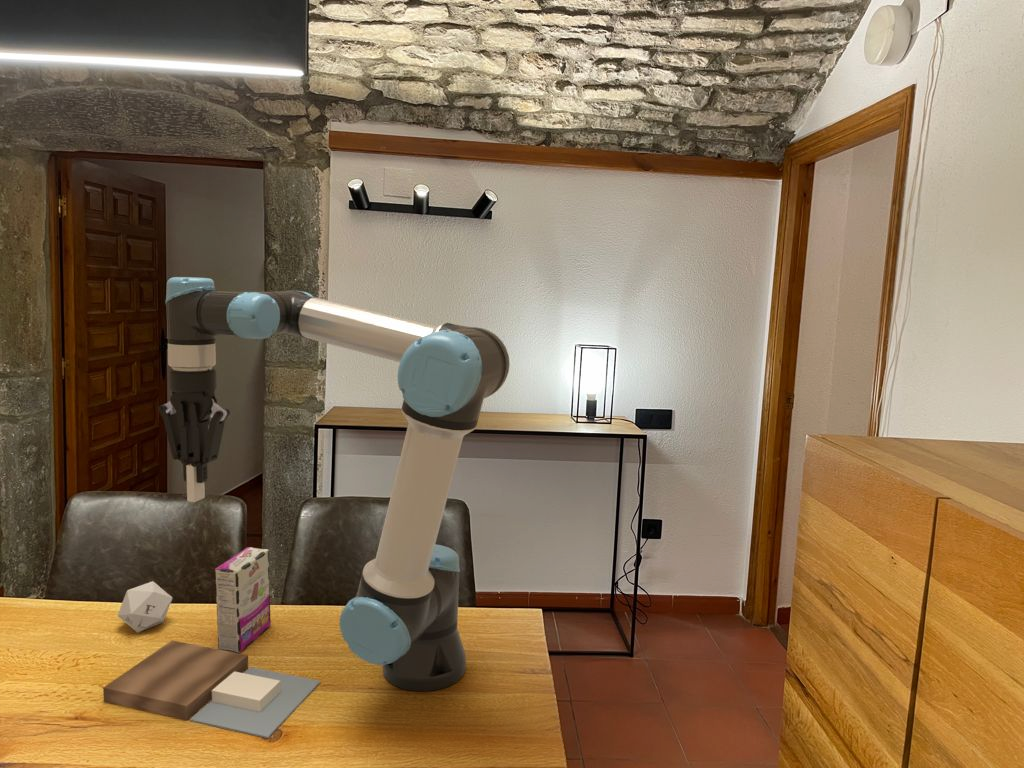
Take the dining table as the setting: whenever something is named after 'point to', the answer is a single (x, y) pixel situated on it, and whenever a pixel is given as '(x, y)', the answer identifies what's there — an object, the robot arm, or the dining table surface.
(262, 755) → the dining table surface
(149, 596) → the die
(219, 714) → the mat
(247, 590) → the candy bar box
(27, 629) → the dining table surface
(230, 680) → the cream rectangular tile
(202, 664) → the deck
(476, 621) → the dining table surface
